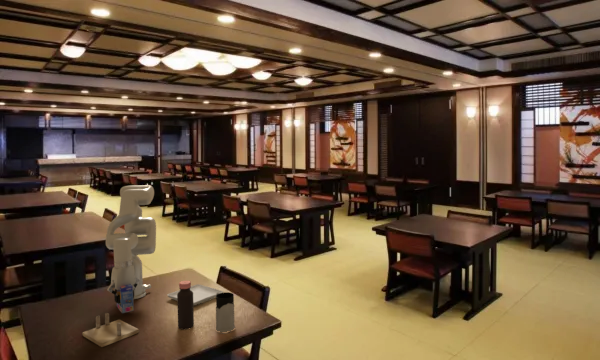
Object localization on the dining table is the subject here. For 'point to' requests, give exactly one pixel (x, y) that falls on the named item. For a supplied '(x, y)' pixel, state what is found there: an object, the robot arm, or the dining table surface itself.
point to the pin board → (109, 331)
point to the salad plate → (199, 293)
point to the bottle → (185, 306)
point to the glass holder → (224, 312)
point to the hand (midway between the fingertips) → (124, 300)
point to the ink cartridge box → (126, 299)
